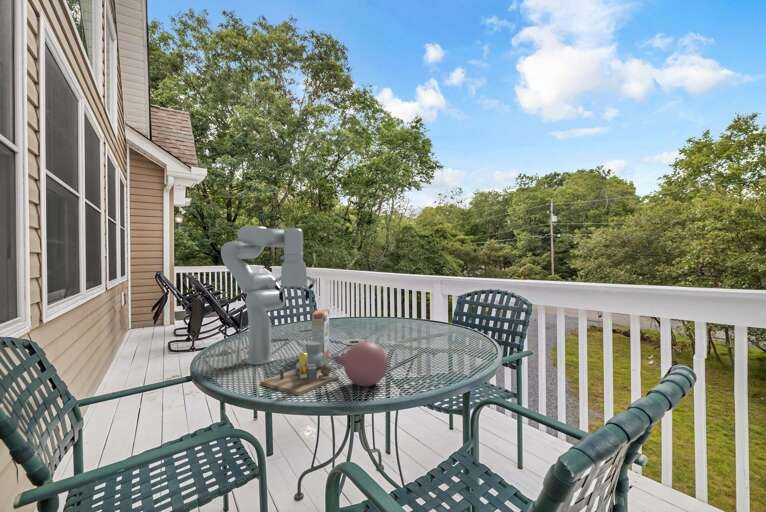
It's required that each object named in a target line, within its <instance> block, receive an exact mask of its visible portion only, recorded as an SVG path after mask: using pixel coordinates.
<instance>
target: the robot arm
mask: <svg viewBox="0 0 766 512" xmlns="http://www.w3.org/2000/svg"><path fill="white" fill-rule="evenodd" d="M303 237H304V235H303V229H301V228H297V227H295V228H294V227H289V228H288V227H287V228H268V227H266V226H260V225H244V226H241V227H240V228H239V229H238V231H237V238H238V241H237V240H234V241H233V240H232V241H228V242H225V243H224V244H223V245H221V250H220V256H221V260H222V263H223V265H224V266H225V268H226V269H227V270H228V271H229V272H230V274H231V275H232V277H233V278H234V280H235V282H236V283H237V285H238V286H239V288H240V290H241V292H243V293H244V294H246V297H245V305H246V306H245V307H246V312H247V318H248V351H247V350H246V351H245V354H246V355H247V356H248V357H247V358H245V364H247V365H253V366H255V365H256V366H257V365H266V364H270V363H272V362H275V360H276V356H275V355H273V354H272V321H271V318H270V316H269V315H268V313H267V312H268V311H272V310H273V311H274V310H278V309H279V310H280V309H281V308H283V307H284V306H285V303H286V296H285V294H284V292H283V290H284V289H285V288H302V287H303V288H304V289H305V291H304V294H305V295H304V296H305V298H304V300H305V301H306V302H308V300H309V299H310V290H311V289H312V288H313V287H314V285H316V282H317V280H316V279H315V278H313V277H311V276H309V275H308V274H307V273H308V272H307V266H306V262H305V261H304V243H303V242H304V241H303V239H304V238H303ZM265 247H266V248H283V255H281V256H280V257H279V259H280V260H281V261H283V262H281V268H280V269H281V270H280V276H279V277H277V278H275V277H274V276H273V275H272V274H270V273H268V272H254V270H252V267H251V266H250V265H249V264H248V263H247V262H245V261H243V260H248V259H249V260H252V259H257V258H258V257H259V256H260V255H261V253H262V252H263V251H264V249H265ZM308 281H310V284H309V285H308ZM278 282H280V285H279V283H278Z"/></svg>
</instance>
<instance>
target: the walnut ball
mask: <svg viewBox="0 0 766 512" xmlns="http://www.w3.org/2000/svg"><path fill="white" fill-rule="evenodd" d="M319 369H320V371H319V372H321V373H322V374H323V375H329V374H330V373H332V367H331V366H330V364H327V363H324V365H323V366H321V367H320V368H319Z"/></svg>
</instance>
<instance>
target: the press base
mask: <svg viewBox="0 0 766 512" xmlns="http://www.w3.org/2000/svg"><path fill="white" fill-rule="evenodd" d="M307 367H308V373H307V378H300V374H299V370H296V368H295V369H292V370H289V371H285V372H284V368H280V369H279V374H277V375H275V376H272V377H269V378H266V379H263V380H262V379H261V380H260V381H259V385H261V386H264V387H267V388H271V389H275V390H278V391H280V392H281V391H282V392H284V393H285V392H286V393H289V394H292V395H296V396H299V397H300V396H302V395H304V394H307V393H309V392H311V391H314V390H316V389H318V388H321V387H323V386H325V385H327V384H330V383H332V382H335V381H336V379H337V380H339V375H337V374H333V372H331V373H330V374H329V375H323V374H322V373H321V371H318V368H316V365H315V364H307ZM334 380H335V381H334Z"/></svg>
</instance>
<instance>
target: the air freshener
mask: <svg viewBox="0 0 766 512" xmlns="http://www.w3.org/2000/svg"><path fill="white" fill-rule="evenodd" d="M305 353H307V362H308V364H315V365H316V368H317V369H321V367H322V366H323V365H324V364H326V359H327V356H325V354H323V353H321V352H320V343H319V342H312V341H309V342H306V344H305Z"/></svg>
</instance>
